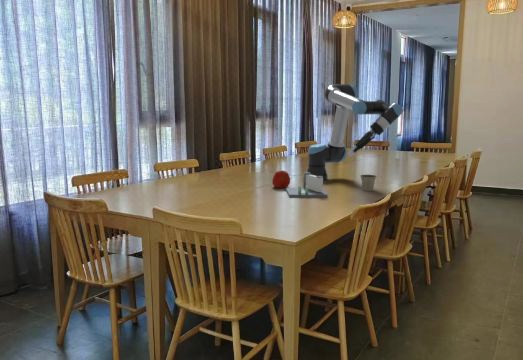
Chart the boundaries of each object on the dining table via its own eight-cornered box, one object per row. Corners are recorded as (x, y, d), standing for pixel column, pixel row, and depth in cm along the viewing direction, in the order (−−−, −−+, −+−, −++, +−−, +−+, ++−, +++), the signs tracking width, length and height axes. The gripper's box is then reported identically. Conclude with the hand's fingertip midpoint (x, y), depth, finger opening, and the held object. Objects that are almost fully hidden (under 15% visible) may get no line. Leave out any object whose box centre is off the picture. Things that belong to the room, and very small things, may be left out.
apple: (288, 189, 269) (289, 171, 267) (270, 188, 271) (271, 171, 269) (291, 186, 279) (291, 169, 277) (273, 185, 281) (274, 168, 279)
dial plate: (285, 190, 267) (285, 180, 266) (320, 189, 267) (321, 180, 266) (289, 197, 245) (289, 187, 244) (327, 197, 246) (327, 187, 245)
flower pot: (364, 191, 262) (365, 177, 261) (356, 189, 271) (357, 174, 270) (378, 191, 265) (379, 176, 263) (370, 188, 274) (371, 174, 272)
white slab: (302, 187, 264) (302, 172, 263) (307, 186, 266) (308, 171, 264) (317, 192, 250) (317, 176, 249) (323, 191, 252) (323, 175, 250)
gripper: (387, 131, 248) (356, 161, 250) (380, 130, 260) (350, 158, 262) (378, 121, 247) (347, 152, 249) (371, 121, 259) (342, 149, 261)
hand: (349, 155), depth 255 cm, fingers closed
